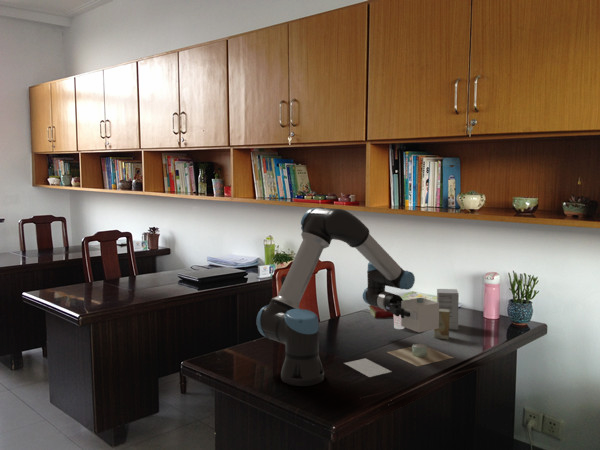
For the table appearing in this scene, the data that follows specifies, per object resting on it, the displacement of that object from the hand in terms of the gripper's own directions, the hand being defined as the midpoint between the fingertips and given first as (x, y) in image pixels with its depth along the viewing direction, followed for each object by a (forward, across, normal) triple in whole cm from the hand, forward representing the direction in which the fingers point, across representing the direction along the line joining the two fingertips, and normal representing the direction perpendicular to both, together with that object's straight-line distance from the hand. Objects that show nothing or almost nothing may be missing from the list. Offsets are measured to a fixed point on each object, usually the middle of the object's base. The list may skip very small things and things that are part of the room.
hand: (427, 314), depth 204 cm
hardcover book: (-58, -30, -18) cm, 68 cm away
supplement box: (-28, -38, -18) cm, 51 cm away
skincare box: (-17, -24, -18) cm, 34 cm away
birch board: (-4, 0, -18) cm, 18 cm away
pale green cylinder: (-4, 0, -17) cm, 18 cm away
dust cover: (-4, 0, -6) cm, 7 cm away
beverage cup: (-38, -18, -18) cm, 46 cm away
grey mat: (-4, +22, -18) cm, 29 cm away
